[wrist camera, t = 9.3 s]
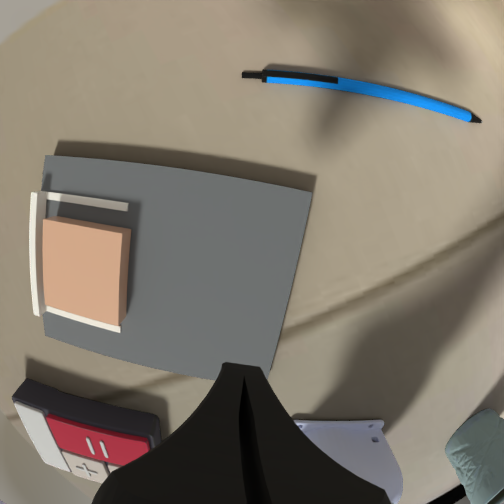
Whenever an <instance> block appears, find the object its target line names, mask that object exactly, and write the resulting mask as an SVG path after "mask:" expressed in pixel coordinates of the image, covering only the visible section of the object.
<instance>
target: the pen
mask: <svg viewBox="0 0 504 504" xmlns="http://www.w3.org/2000/svg"><path fill="white" fill-rule="evenodd" d="M242 78H256V79H262V82H266V83H281V84H293V85H304V86H313V87H321V88H329V89H336V90H342V91H349V92H355V93H360V94H366V95H371V96H376V97H381V98H385V99H390V100H394V101H398V102H403V103H407V104H411V105H414V106H418V107H422V108H425V109H429V110H432V111H436V112H439V113H442V114H446V115H449V116H452V117H455V118H458V119H461V120H464V121H467V122H475V123H483V122H482V121H481V120H480V119H479V118H478V117H476V116H475V115H473V114H472V113H471V112H469V111H466V110H463V109H461V108H458V107H455V106H452V105H449V104H446V103H443V102H440V101H437V100H434V99H431V98H427V97H424V96H421V95H417V94H414V93H410V92H406V91H402V90H398V89H394V88H390V87H386V86H381V85H377V84H372V83H367V82H362V81H357V80H352V79H346V78H340V77H333V76H326V75H319V74H311V73H302V72H292V71H280V70H264V69H263V70H262V73H246V72H242Z"/></svg>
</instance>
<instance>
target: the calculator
mask: <svg viewBox="0 0 504 504" xmlns="http://www.w3.org/2000/svg"><path fill="white" fill-rule="evenodd" d="M12 400H13V402H14V404H15V407H16V409H17V411H18V413H19V416H20V418H21V420H22V422H23V424H24V426H25V428H26V430H27V432H28V434H29V436H30V438H31V440H32V442H33V443H34V445H35V447H36V449H37V451H38V452H39V454H40V456H41V458H42V459H43V461H44V462H45V463H47V464H49V465H52V466H54V467H57V468H60V469H62V470H65V471H68V472H73V474H74V475H76V476H79V477H82V478H86V479H89V480H92V481H96V482H99V483H103V482H104V481H105V479H106V478H107V477H108V476H109V474H110V473H111V472H112V471H114V470H116V469H118V468H120V467H122V466H124V465H126V464H127V463H129V462H131V461H133V460H135V459H137V458H139V457H140V456H142V455H144V454H145V453H147V452H148V451H149V450H151V449H152V448H154V447H155V446H157V445H158V444H160V443H161V442H162V440H161V433H160V425H159V418H158V417H157V416H156V415H154V414H150V413H145V412H140V411H135V410H130V409H126V408H121V407H117V406H113V405H109V404H105V403H101V402H97V401H93V400H89V399H85V398H81V397H77V396H73V395H69V394H66V393H62V392H59V391H58V390H57V389H55V388H52V387H49V386H46V385H44V384H41V383H38V382H36V381H33V380H30V379H28V378H27V379H25V381H24V382H23V383H22V384H21V386H20V387H19V388H18V389H17V391H16V392H15V393H14V394H13V396H12Z"/></svg>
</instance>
